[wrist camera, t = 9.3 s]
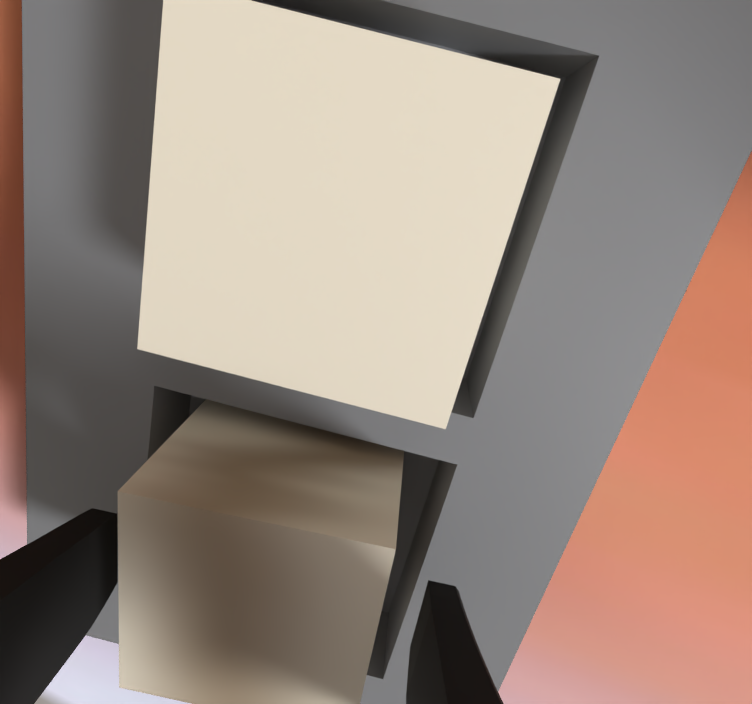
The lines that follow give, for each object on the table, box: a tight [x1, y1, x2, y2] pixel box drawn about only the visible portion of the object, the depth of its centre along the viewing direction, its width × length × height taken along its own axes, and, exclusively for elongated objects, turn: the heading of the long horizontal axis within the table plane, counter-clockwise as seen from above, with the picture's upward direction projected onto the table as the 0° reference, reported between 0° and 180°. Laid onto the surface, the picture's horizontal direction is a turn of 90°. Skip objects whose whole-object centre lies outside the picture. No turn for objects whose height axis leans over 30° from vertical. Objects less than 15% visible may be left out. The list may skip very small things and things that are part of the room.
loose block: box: [118, 399, 404, 704], centre depth 12 cm, size 5×5×5 cm
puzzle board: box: [22, 0, 752, 704], centre depth 10 cm, size 13×26×6 cm, turn 166°
